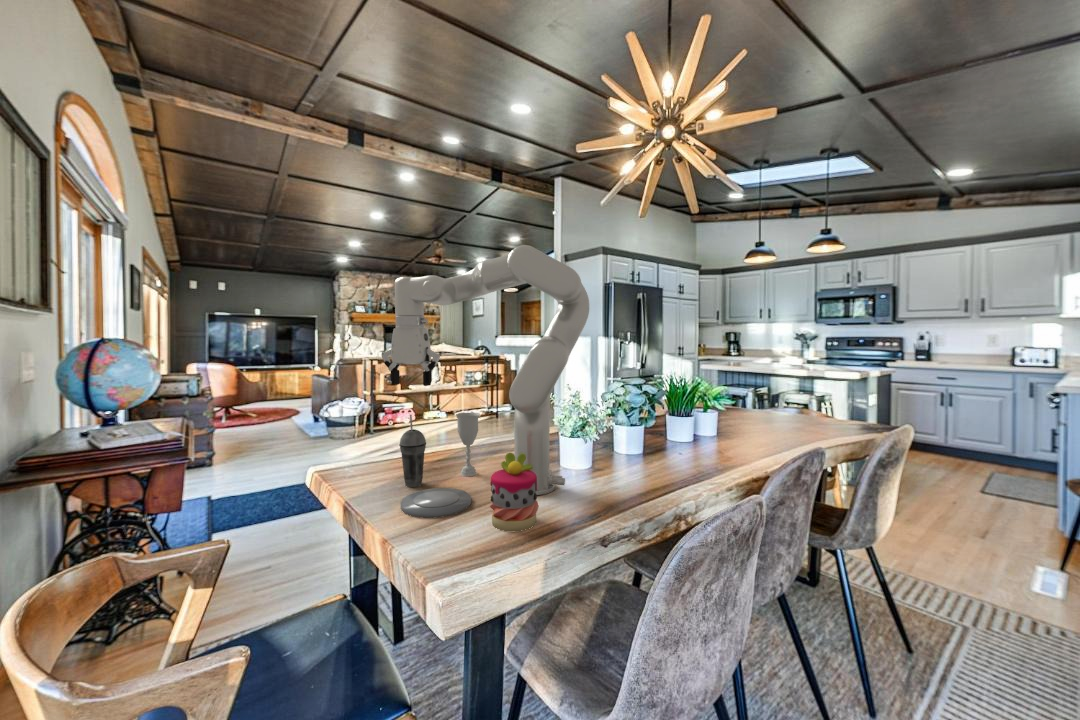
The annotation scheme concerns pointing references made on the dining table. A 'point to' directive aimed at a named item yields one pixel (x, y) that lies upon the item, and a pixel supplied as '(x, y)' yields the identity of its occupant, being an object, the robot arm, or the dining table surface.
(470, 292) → the robot arm
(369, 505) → the dining table surface
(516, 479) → the cake
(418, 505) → the dish
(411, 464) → the beverage cup
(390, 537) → the dining table surface
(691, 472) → the dining table surface
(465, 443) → the chalice
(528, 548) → the dining table surface
